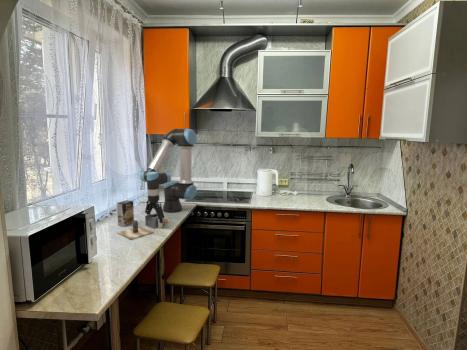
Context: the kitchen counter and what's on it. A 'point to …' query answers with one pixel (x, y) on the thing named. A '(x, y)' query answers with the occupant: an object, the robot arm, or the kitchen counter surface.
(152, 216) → the square sleeve with handle
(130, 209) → the coffee box
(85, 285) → the kitchen counter surface
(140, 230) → the post board
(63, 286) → the kitchen counter surface
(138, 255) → the kitchen counter surface
